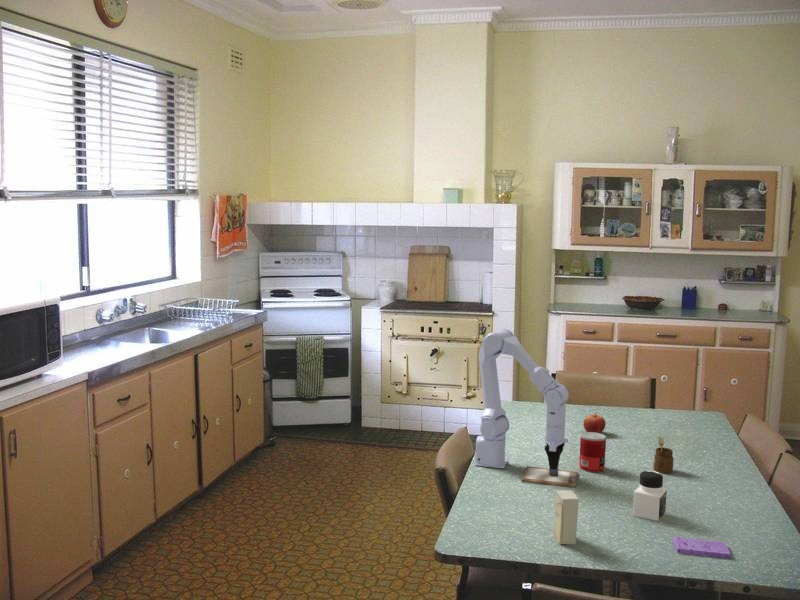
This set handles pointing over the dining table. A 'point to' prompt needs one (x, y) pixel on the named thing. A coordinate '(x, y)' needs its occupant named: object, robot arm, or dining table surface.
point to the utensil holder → (663, 459)
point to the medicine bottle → (650, 496)
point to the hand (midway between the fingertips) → (553, 467)
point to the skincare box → (565, 517)
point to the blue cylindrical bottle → (553, 471)
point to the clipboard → (550, 477)
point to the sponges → (701, 547)
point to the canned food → (592, 451)
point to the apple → (594, 423)
